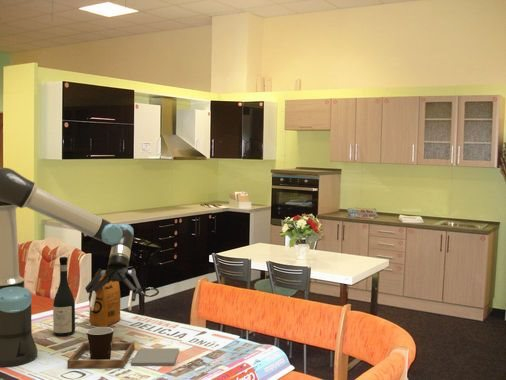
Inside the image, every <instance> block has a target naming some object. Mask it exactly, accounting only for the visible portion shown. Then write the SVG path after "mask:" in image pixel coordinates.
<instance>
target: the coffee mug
mask: <svg viewBox="0 0 506 380" xmlns="http://www.w3.org/2000/svg"><path fill="white" fill-rule="evenodd" d="M86 335H87V343H88V344H89V358H90V359H89V360H104V359H111V357H112V356H111V355H112V351H111V349H112V343H113V338H114V328H112V327H108V326H106V327H102V326H101V327H100V326H96V327H93V328H90V329H88V330H87V331H86Z"/></svg>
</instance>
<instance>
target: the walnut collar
mask: <svg viewBox="0 0 506 380" xmlns="http://www.w3.org/2000/svg"><path fill="white" fill-rule="evenodd" d="M135 346H136V345H135V342H112V349H111V352H112V351H125V353H124V354H123V355H122V357H121V359H120V358H119V359H118V358H117V359H116V358H115V359H111V358H110V359H104V360H91V359H80V358H81V357H82V355H84V353H85V352H87V351H89V344H88V342H83V343H82V344H81V345H80V346H79V347H78V349H76V350H75V351H74V353H73V354H72V355H71V356H70V357H69V358H68V359H67V361H66V362H67V364H66V365H67V366H66V367H67V369H125V366H126V364H127V363H128V361H129V359H131V356H132V354H133V353H134V351H135V350H136V349H135V348H136V347H135Z"/></svg>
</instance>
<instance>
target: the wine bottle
mask: <svg viewBox="0 0 506 380" xmlns="http://www.w3.org/2000/svg"><path fill="white" fill-rule="evenodd" d="M68 261H69V260H68V257H67V256H62V257H59V276H60V277H59V278H60V279H59V285H58V288H57V290H56V293H55V296H54V299H53V305H52V307H53V308H52V310H53V313H52V314H53V315H52V316H53V317H52V318H53V320H52V321H53V334H54V335H55V336H59V337H66V336H70V335H71V336H72V335H73V334H74V333H75V332H76V311H75V310H76V309H75V308H76V304H75V298H74V294H73V292H72V291H71V288H70V285H69V282H68V281H69V280H68Z"/></svg>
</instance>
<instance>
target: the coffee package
mask: <svg viewBox="0 0 506 380" xmlns="http://www.w3.org/2000/svg"><path fill="white" fill-rule="evenodd" d="M97 272H98V271H96V273H94V276H95V275H96V274H97ZM105 275H106V274H104V275H103V276H102V277H101V279H100V280H102V279H103V278H104V276H105ZM100 280H99V281H100ZM99 281H98V282H99ZM98 282H97V283H98ZM88 303H89V306H90V301H88ZM88 316H89V319H88V322H89V325H91V326H95V325H96V326H95V327H108V326H109V325H111V324H113V325H114V324H115V323H116V324H117V322H119V321H121V289H120V282H117V281H115V282H112V281H110V282H109V283H106V284H105V285H104V286H103V287H102V288H101V289H99V290H98V291H97V292H96V299H95V303H94V308H93V311H91V310H90V309H89V315H88Z"/></svg>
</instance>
